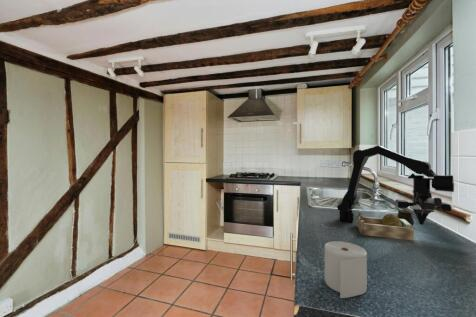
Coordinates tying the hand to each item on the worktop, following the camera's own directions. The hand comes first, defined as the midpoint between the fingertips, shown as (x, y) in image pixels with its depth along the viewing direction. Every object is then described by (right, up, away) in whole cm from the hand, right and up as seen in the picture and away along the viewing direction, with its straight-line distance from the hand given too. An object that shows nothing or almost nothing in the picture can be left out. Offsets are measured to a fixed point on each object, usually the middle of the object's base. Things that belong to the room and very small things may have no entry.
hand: (421, 224), depth 97 cm
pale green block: (-5, -6, +2) cm, 8 cm away
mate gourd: (+3, -6, +14) cm, 15 cm away
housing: (-13, -6, +5) cm, 15 cm away
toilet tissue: (-51, -6, -36) cm, 63 cm away
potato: (-10, -6, +5) cm, 12 cm away
